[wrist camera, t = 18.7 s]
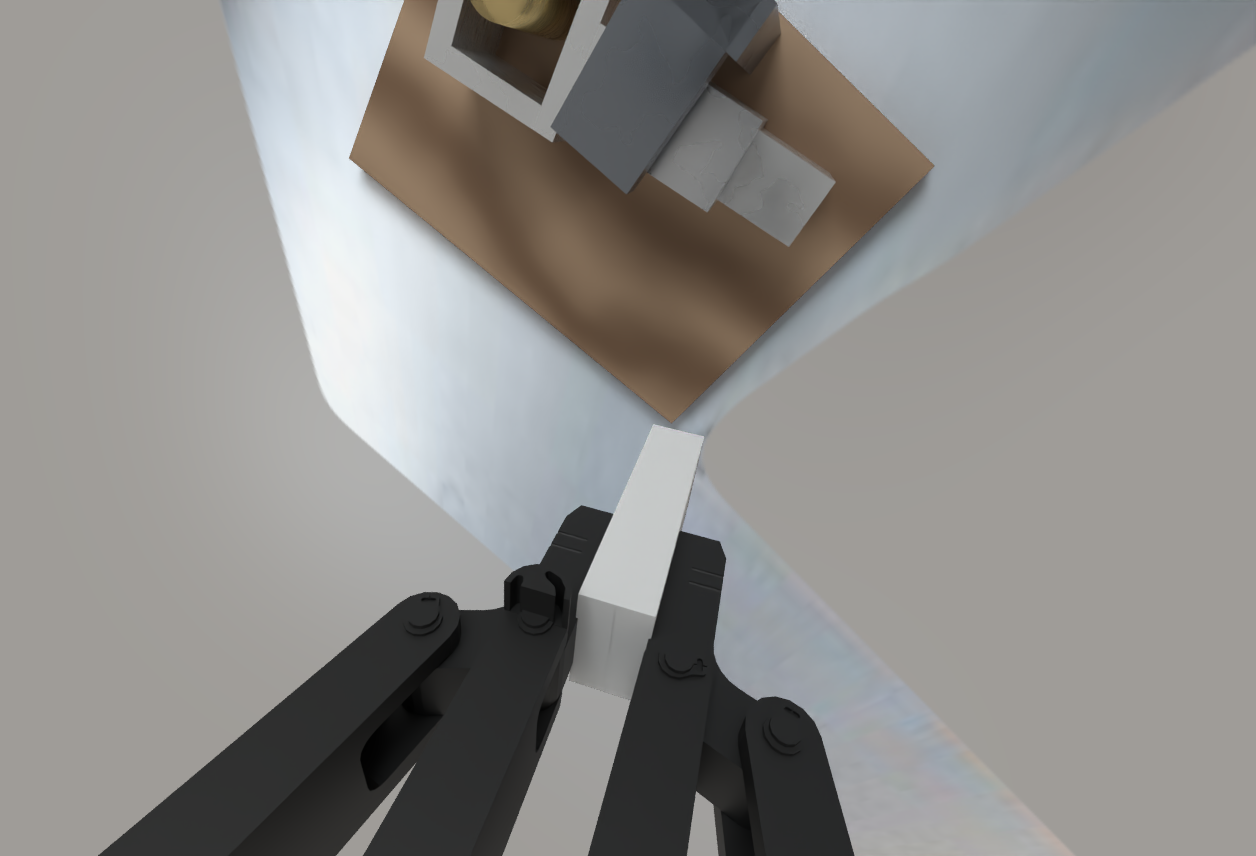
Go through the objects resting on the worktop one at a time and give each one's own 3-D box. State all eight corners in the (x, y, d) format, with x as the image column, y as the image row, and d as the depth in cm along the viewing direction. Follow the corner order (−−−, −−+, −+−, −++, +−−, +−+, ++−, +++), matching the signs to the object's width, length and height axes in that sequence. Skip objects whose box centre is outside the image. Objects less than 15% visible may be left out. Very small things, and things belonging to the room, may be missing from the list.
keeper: (702, -42, 25) (663, -110, 17) (781, 36, 26) (777, 3, 18) (605, 116, 29) (540, 118, 22) (675, 179, 30) (635, 202, 22)
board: (510, -250, 23) (497, -267, 22) (929, 163, 27) (934, 166, 26) (362, 156, 34) (349, 158, 33) (674, 415, 37) (671, 423, 36)
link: (470, 65, 29) (403, 54, 24) (517, -96, 25) (448, -149, 20) (767, 260, 30) (762, 290, 25) (856, 135, 26) (872, 140, 21)
